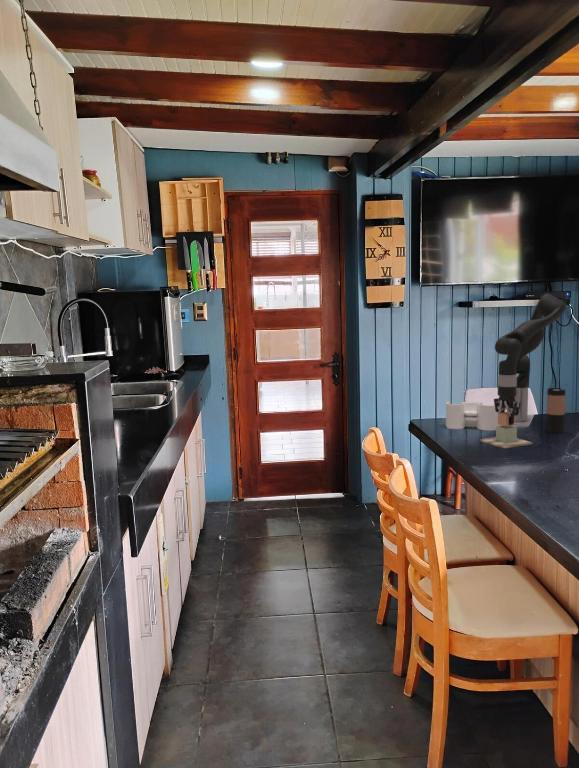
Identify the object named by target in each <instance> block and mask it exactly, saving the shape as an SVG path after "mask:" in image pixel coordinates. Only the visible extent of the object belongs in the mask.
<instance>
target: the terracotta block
mask: <svg viewBox="0 0 579 768" xmlns="http://www.w3.org/2000/svg"><path fill="white" fill-rule="evenodd" d="M511 414H512V413H511ZM498 424H499V425H500V426H515V425H516V421H515V416H514V424H513V425H509V415H508V412H507V411H505V412H501V413H498Z"/></svg>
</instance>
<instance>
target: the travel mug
mask: <svg viewBox="0 0 579 768" xmlns="http://www.w3.org/2000/svg"><path fill="white" fill-rule="evenodd" d="M546 395H547V396H546V432H547V433H549V434H557V435H558V434H564V431H565V417H566V414H565V413H566V389H565V388H564V389H562V388H560V387H550V388H547V391H546Z"/></svg>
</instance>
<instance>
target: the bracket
mask: <svg viewBox="0 0 579 768" xmlns="http://www.w3.org/2000/svg"><path fill="white" fill-rule="evenodd" d="M498 409H499V407H498ZM496 426H501V425H499V424H498V412H496V411H495V405H494V404H492V405H489V404H488V405H487V404H483V402H482V401H478V402H475V401H474V402H469V401H460V403H459V404H458V403H456V404H452V403H451V401H447V402H445V427H447V428H446V429H449V430H450V429H451V430H462V429H465V427H469V428H477V429H478V430H482V431H496Z"/></svg>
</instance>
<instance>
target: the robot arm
mask: <svg viewBox="0 0 579 768" xmlns="http://www.w3.org/2000/svg"><path fill="white" fill-rule="evenodd" d="M566 308H567V304H566V303H565V302H564V301H562V300H560V299H559V298H557V297H556V296H554V295H552V294H550V293H545V294H543V295H542V296H541V297H540V299H539V300H538V302H537V303H536V305H535V308H534V310H533V312H532V315H531V318H530V320H526V321H524V322H522V323H521V324H520V325H519V324H518V326H517V327H516V328H515V329H514V330H512V331H510V332H508V333H506V334H504V335H503V336H501V337H500V338H498V339H497V340H496V342H495V345H494V350H495V352H496V353H497V354H499V355H503V356H505V355H506V358H505V360H504V359H503V360H501V361H499V363H498V375H497V377H498V378H497V396H498V398H494V399H493V405H495V411H496V412H498V413H501V412H508V415H509V425H512V426H514V425H513V424H514V416H515V423H516V422H527V421H528V411H529V410H528V409H529V408H528V406H529V383H530V377H531V376H530V374H531V359H530V357H529V356H528V355H529V354H530V353H532V352H533V351H535V350H536V349H537V348H538V347H539V346H540V344H541V343H542V342H543V339H544V338H545V328H546V327H548V326H549V325H551V324H552V323H554V322H556V321H557V320H558V319H559V318H561V316H562V315H563V314H564V312H565V311H566ZM517 375H518V376H517ZM498 407H499V409H498ZM511 413H512V414H511Z"/></svg>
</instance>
